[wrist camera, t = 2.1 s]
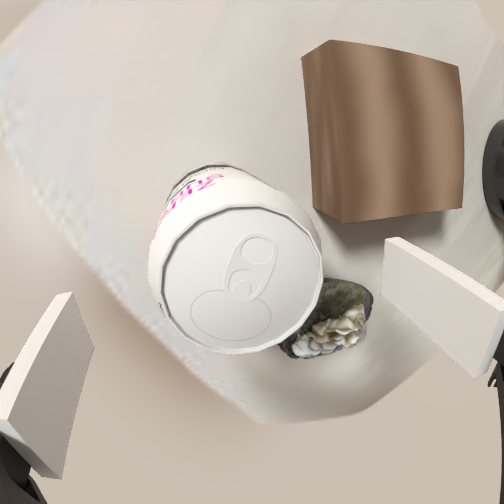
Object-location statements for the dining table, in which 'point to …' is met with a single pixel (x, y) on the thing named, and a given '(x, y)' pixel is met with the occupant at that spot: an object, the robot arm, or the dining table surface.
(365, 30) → the dining table surface
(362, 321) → the oyster shell
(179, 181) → the supplement can
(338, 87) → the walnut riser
